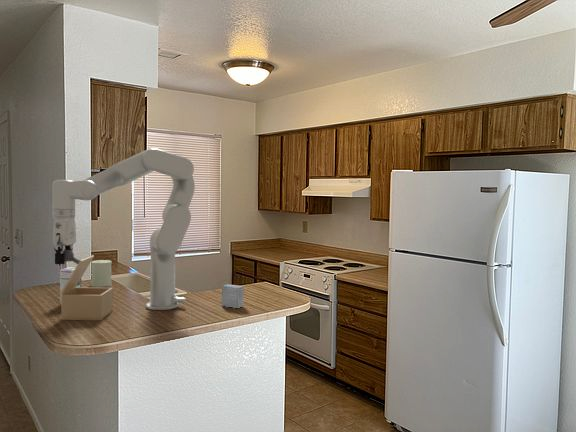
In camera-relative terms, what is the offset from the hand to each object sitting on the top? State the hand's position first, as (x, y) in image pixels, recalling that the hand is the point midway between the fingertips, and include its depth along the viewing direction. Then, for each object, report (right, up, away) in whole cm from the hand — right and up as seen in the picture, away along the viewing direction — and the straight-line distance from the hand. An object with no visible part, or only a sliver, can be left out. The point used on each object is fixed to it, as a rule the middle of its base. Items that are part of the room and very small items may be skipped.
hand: (63, 262), depth 174 cm
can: (-7, -17, +54) cm, 57 cm away
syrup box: (-5, -19, +17) cm, 26 cm away
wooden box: (+8, -20, +2) cm, 21 cm away
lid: (+5, -5, +1) cm, 7 cm away
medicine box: (+60, -20, +19) cm, 66 cm away
